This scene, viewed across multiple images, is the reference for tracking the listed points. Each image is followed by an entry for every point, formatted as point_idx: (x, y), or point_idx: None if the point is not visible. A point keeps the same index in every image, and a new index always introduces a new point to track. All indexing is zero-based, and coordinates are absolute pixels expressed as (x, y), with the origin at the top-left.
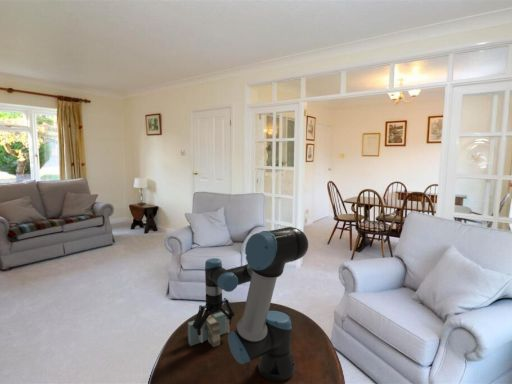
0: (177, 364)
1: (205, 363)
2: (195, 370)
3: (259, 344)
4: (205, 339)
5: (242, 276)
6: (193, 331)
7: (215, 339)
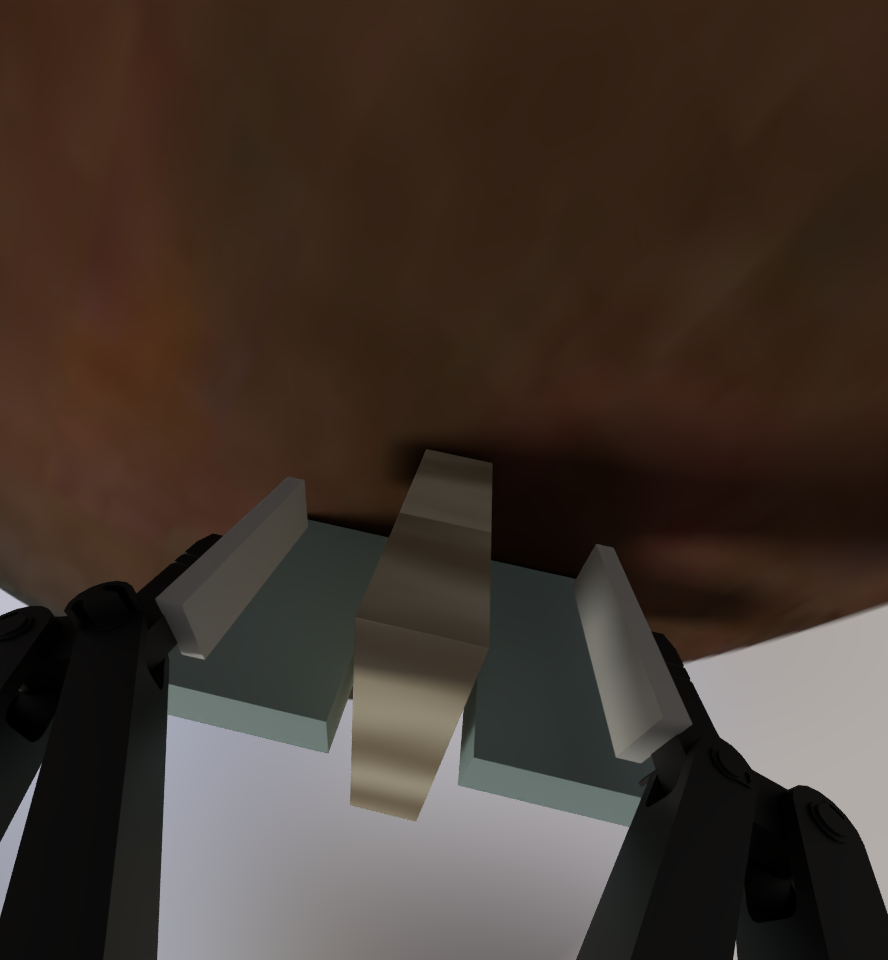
0: (861, 506)
1: (729, 328)
2: None
3: None
4: None
5: None
6: None
7: (465, 495)
